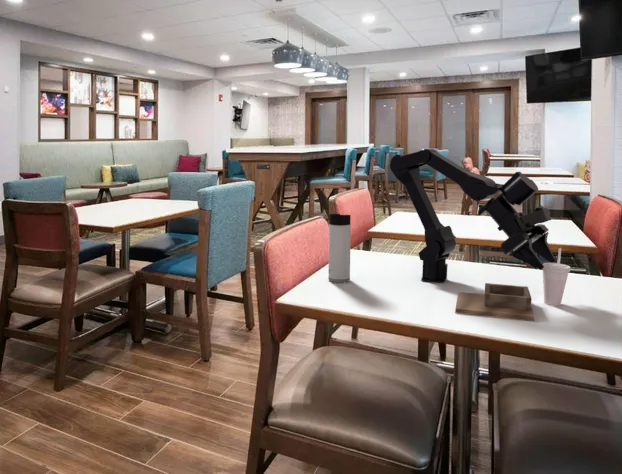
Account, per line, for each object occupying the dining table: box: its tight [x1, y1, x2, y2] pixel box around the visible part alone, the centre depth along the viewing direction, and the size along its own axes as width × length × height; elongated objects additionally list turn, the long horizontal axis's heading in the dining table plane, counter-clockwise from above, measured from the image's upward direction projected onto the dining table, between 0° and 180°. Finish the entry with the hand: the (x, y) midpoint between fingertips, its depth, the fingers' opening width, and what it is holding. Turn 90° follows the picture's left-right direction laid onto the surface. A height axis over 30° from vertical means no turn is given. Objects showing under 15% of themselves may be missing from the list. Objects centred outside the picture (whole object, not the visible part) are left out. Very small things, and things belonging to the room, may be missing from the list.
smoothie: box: [541, 247, 571, 307], centre depth 119 cm, size 6×6×14 cm
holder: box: [454, 282, 536, 322], centre depth 117 cm, size 17×14×4 cm
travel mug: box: [328, 212, 352, 284], centre depth 140 cm, size 6×7×20 cm
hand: (548, 265), depth 120 cm, fingers open, 9 cm apart
